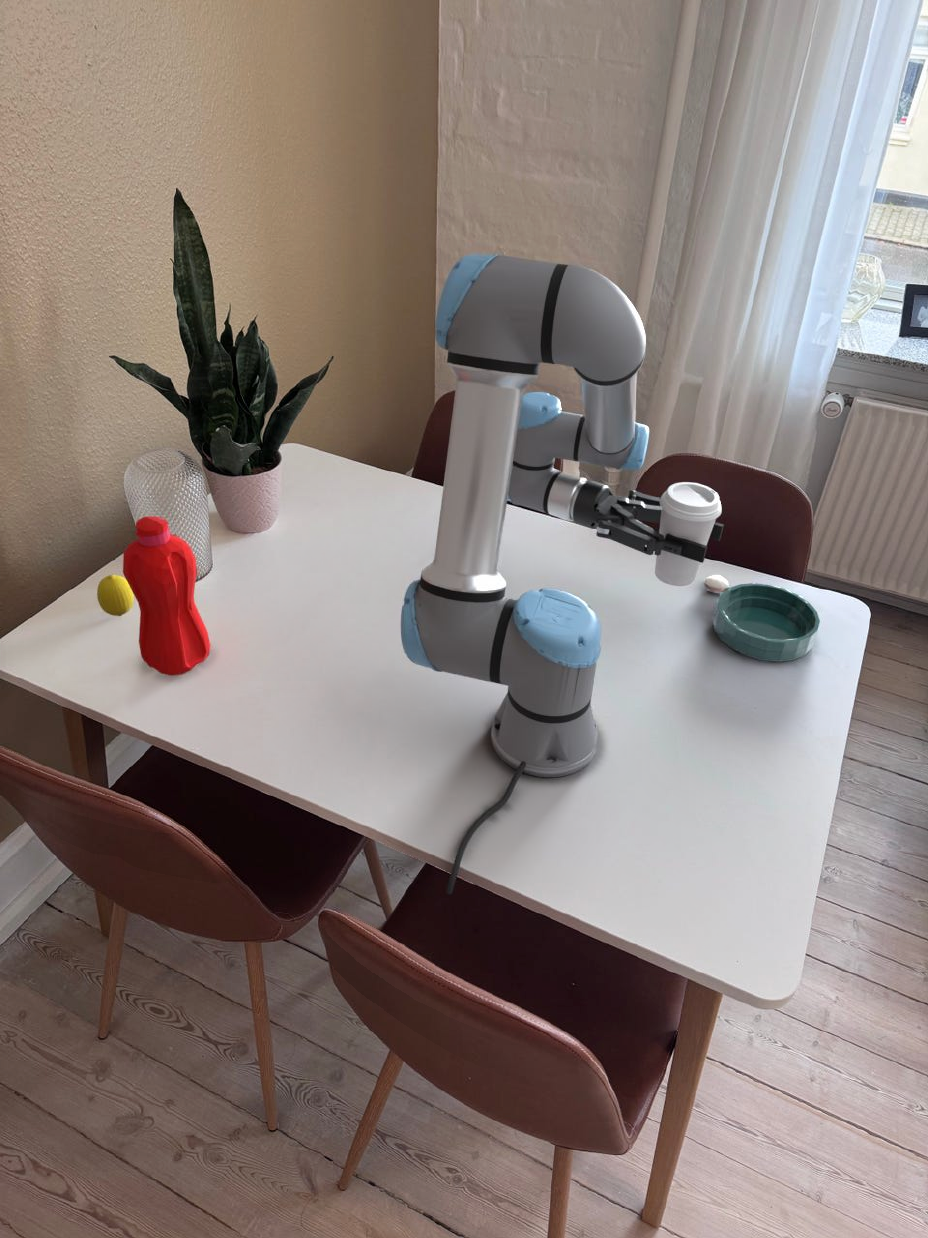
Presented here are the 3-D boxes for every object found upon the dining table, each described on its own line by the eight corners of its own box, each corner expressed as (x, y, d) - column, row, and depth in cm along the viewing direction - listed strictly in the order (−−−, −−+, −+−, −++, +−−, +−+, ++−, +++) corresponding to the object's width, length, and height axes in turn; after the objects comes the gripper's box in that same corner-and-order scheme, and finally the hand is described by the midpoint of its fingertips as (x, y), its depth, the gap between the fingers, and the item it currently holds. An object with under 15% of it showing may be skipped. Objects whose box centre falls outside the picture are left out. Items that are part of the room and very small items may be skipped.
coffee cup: (709, 593, 148) (730, 511, 139) (649, 590, 148) (667, 507, 139) (698, 561, 156) (717, 481, 147) (641, 557, 155) (657, 477, 147)
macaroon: (701, 593, 165) (704, 581, 164) (705, 578, 169) (707, 566, 168) (726, 598, 164) (729, 586, 163) (728, 583, 168) (731, 571, 167)
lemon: (142, 607, 156) (134, 567, 151) (129, 626, 151) (120, 586, 147) (110, 604, 156) (101, 564, 151) (96, 623, 152) (86, 583, 147)
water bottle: (228, 648, 148) (208, 513, 133) (175, 685, 140) (147, 545, 125) (187, 627, 152) (163, 493, 137) (134, 662, 144) (102, 524, 129)
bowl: (784, 677, 147) (791, 655, 145) (694, 633, 156) (699, 611, 153) (828, 632, 157) (836, 611, 155) (741, 593, 166) (747, 572, 163)
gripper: (602, 497, 163) (728, 536, 154) (551, 546, 149) (686, 593, 140) (608, 458, 159) (738, 497, 149) (555, 505, 145) (695, 551, 136)
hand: (713, 543), depth 145 cm, fingers closed on coffee cup, 7 cm apart
